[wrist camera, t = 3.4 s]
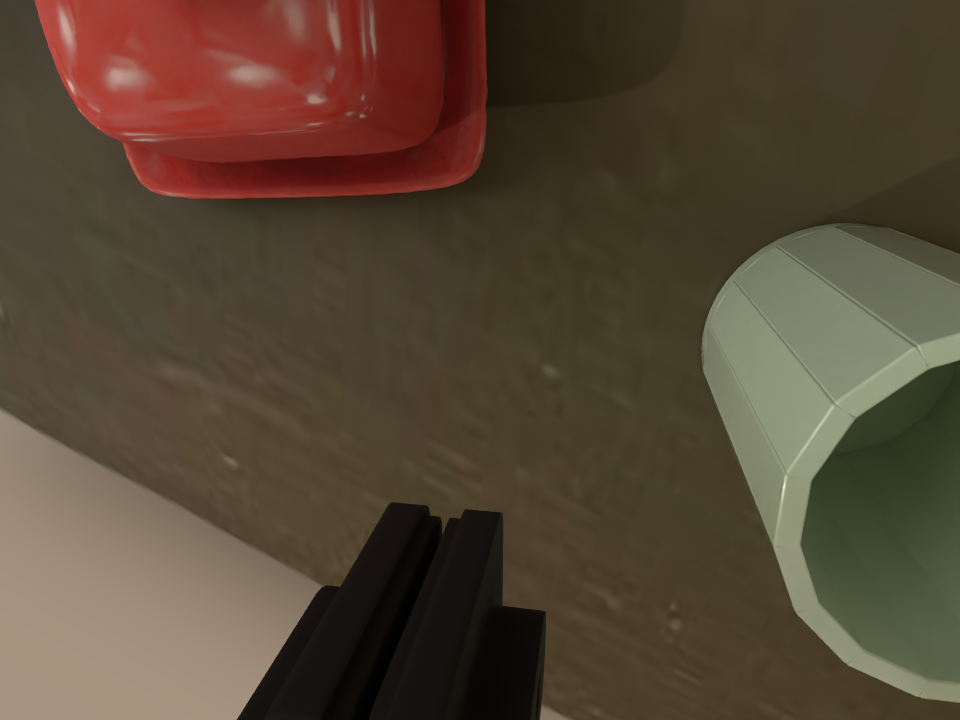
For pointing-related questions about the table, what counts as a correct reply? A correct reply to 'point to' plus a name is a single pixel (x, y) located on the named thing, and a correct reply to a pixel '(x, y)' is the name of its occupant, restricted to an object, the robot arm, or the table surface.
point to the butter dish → (280, 91)
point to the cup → (852, 438)
